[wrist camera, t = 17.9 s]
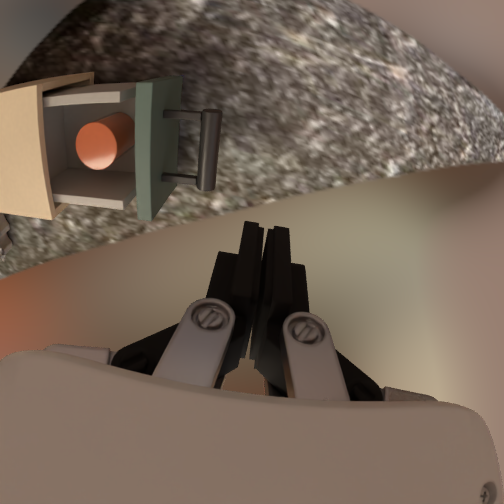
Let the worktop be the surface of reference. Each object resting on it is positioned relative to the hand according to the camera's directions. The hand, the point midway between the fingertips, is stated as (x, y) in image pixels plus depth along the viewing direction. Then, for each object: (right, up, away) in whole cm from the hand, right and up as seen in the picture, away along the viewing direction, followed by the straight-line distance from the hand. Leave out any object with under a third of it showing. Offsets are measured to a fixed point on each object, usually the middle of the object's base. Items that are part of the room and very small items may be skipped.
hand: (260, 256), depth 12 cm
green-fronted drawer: (-11, +11, +12) cm, 20 cm away
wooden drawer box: (-22, +13, +13) cm, 29 cm away
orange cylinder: (-12, +11, +12) cm, 20 cm away
